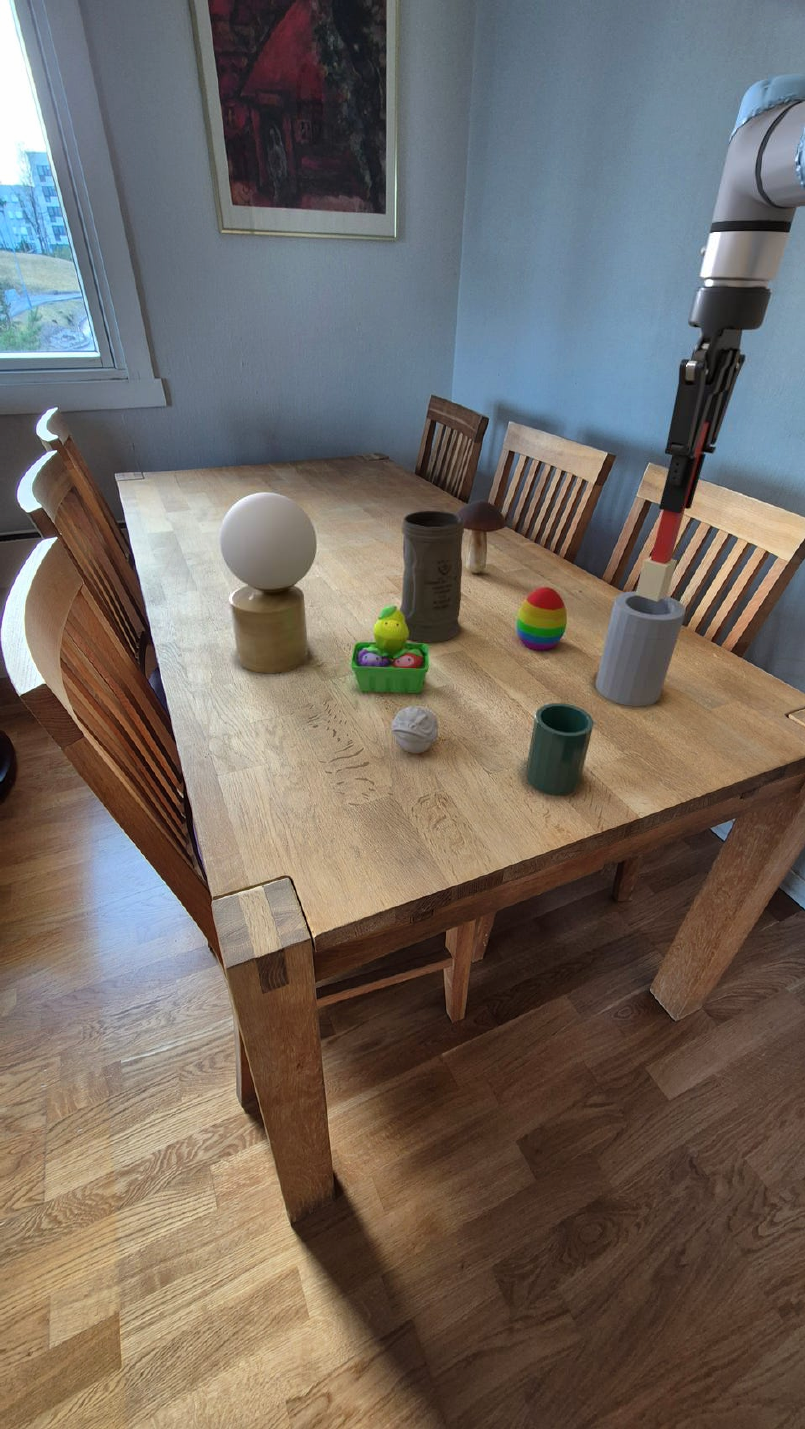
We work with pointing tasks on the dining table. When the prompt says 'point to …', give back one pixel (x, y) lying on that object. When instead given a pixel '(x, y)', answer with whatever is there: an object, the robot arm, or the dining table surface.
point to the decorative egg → (542, 619)
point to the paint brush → (665, 547)
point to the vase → (638, 648)
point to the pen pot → (558, 748)
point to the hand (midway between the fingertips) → (674, 508)
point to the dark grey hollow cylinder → (432, 574)
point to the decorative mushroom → (479, 531)
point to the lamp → (268, 579)
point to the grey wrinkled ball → (415, 728)
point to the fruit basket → (390, 657)
